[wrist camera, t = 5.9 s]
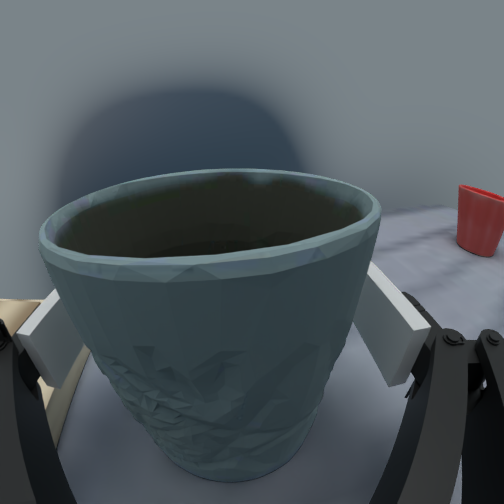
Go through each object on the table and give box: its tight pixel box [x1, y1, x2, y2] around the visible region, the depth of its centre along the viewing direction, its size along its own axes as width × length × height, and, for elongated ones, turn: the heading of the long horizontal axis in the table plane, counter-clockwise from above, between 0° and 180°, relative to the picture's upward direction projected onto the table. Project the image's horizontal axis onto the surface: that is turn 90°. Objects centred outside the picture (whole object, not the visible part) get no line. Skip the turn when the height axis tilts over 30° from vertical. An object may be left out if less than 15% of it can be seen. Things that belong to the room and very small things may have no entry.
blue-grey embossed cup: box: [39, 169, 381, 482], centre depth 10 cm, size 10×10×12 cm
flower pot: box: [457, 185, 504, 257], centre depth 33 cm, size 11×11×10 cm
